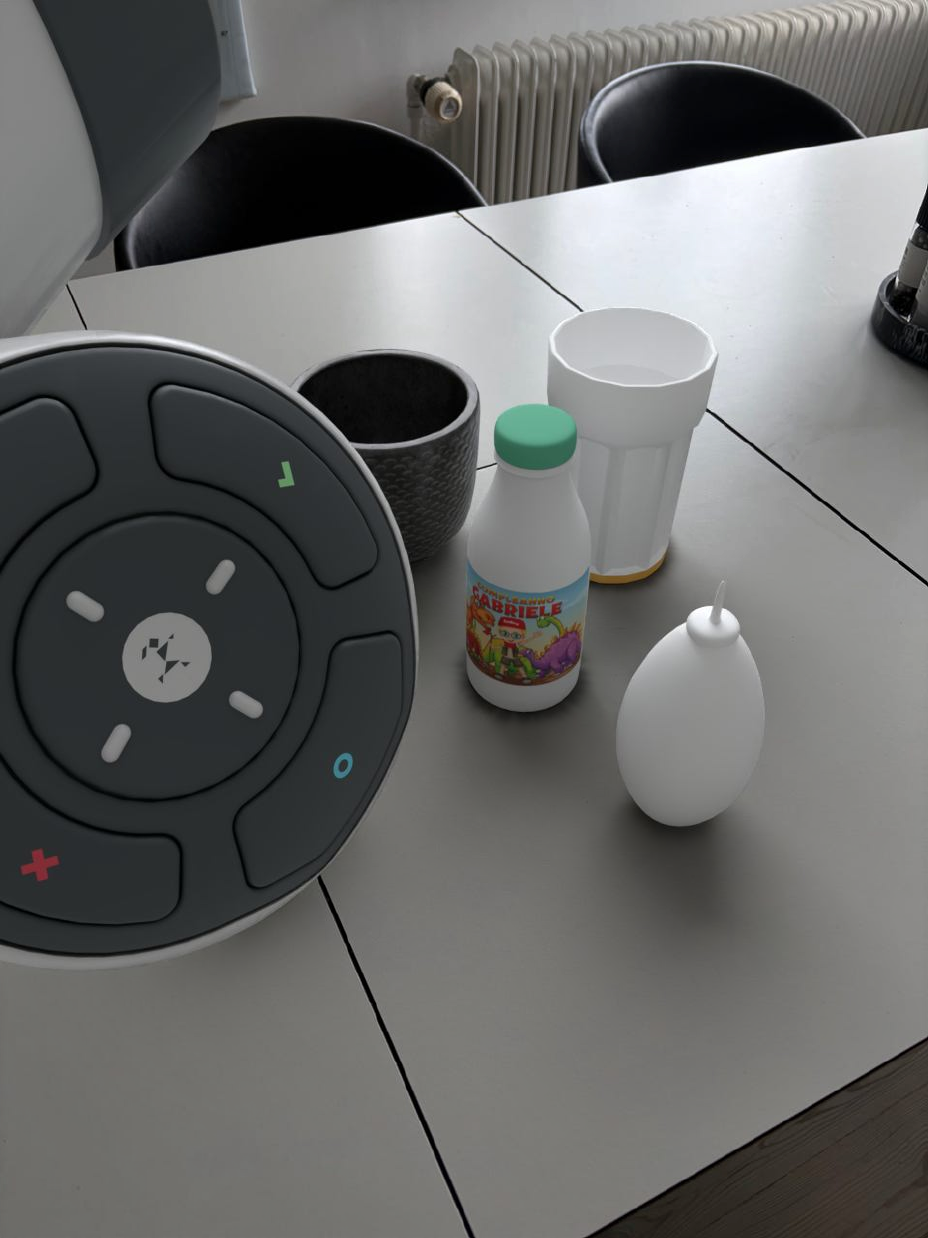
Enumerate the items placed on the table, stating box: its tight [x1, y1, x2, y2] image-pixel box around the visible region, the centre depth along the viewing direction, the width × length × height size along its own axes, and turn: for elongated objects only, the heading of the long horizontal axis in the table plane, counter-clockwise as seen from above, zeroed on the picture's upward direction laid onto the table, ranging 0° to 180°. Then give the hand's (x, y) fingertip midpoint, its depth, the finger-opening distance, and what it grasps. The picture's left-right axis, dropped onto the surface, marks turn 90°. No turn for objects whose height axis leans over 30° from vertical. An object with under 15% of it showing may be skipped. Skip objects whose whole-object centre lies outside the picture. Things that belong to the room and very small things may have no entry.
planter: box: [289, 348, 481, 567], centre depth 75 cm, size 14×14×13 cm
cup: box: [546, 306, 720, 584], centre depth 73 cm, size 11×11×17 cm
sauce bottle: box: [615, 580, 766, 827], centre depth 55 cm, size 8×8×18 cm
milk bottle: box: [465, 403, 591, 713], centre depth 62 cm, size 8×8×20 cm
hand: (29, 656), depth 38 cm, fingers open, 8 cm apart
